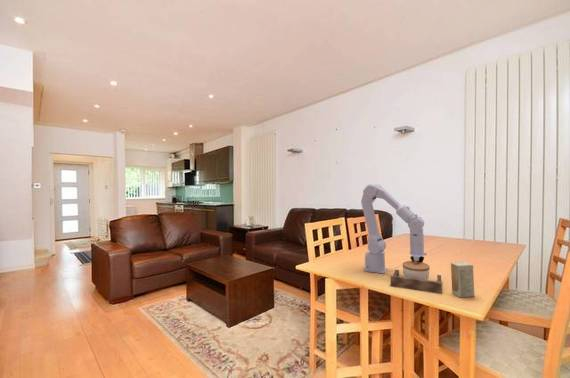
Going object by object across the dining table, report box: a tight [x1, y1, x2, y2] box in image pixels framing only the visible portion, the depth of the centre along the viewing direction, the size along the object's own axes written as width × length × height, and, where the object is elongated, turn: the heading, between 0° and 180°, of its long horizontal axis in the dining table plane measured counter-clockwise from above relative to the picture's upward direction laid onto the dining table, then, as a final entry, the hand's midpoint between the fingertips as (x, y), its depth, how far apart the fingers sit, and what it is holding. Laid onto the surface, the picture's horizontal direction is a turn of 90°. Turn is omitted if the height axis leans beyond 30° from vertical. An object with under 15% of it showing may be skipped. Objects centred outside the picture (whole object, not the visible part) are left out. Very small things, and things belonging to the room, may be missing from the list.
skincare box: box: [450, 261, 475, 298], centre depth 103 cm, size 6×4×12 cm
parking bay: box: [390, 269, 443, 294], centre depth 116 cm, size 19×16×4 cm
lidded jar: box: [402, 260, 431, 280], centre depth 117 cm, size 11×11×9 cm
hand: (417, 272), depth 123 cm, fingers closed
